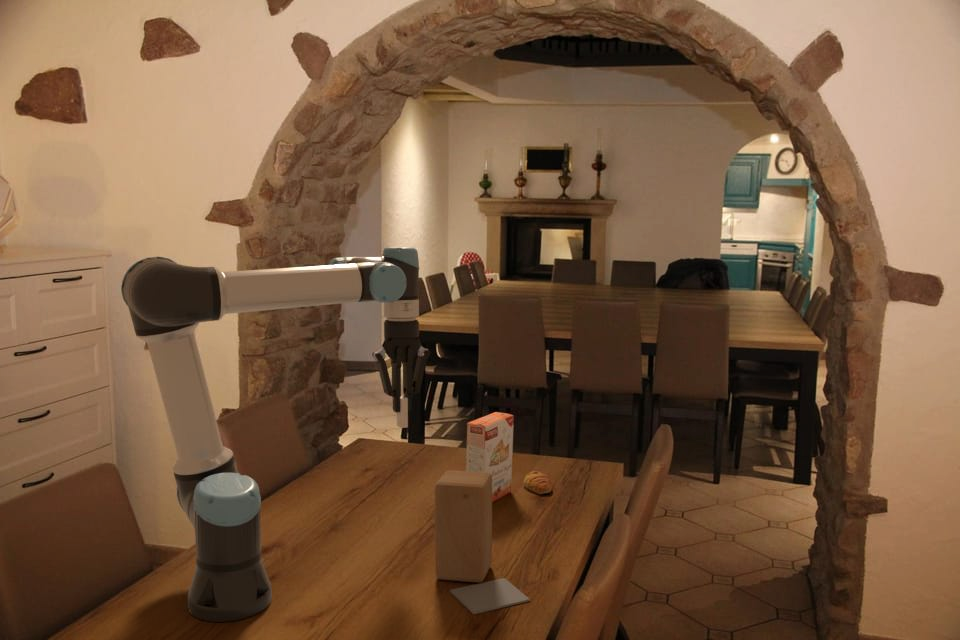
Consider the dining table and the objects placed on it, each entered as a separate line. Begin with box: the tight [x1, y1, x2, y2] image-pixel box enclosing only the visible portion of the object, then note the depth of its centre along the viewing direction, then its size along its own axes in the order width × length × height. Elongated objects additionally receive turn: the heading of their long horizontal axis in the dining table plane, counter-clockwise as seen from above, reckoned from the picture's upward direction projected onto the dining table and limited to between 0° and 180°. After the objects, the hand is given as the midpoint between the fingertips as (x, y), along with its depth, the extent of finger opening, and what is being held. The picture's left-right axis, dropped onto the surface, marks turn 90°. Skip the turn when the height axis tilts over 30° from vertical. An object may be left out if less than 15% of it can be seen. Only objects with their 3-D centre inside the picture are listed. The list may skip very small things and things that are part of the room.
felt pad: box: [449, 577, 531, 615], centre depth 163 cm, size 12×10×1 cm
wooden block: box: [434, 469, 493, 583], centre depth 172 cm, size 10×10×20 cm
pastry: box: [523, 470, 553, 495], centre depth 223 cm, size 9×7×4 cm
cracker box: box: [465, 411, 515, 503], centre depth 215 cm, size 14×6×21 cm, turn 148°
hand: (402, 426), depth 185 cm, fingers closed
